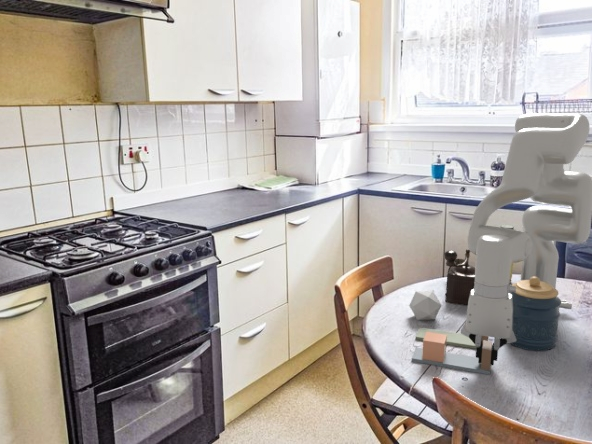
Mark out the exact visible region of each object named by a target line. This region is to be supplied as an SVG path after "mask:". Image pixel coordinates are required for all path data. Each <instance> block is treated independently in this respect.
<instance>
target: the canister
mask: <svg viewBox="0 0 592 444" xmlns="http://www.w3.org/2000/svg"><path fill="white" fill-rule="evenodd" d="M511 285H512V286H516V292H510V294H511V295H512V299H513V330H514V332H515V335H516V342H512V343H510V344H511V345H513V346H515V347H517V348H521V349H524V350H528V351H547V350H551V349H553V348H555V347H556V343H557V341H558V338H559V337H558V331H559V330H558V328H559V320H560V316H561V312H560V310H559V311H558V307H559V306H560V305H561V300H562V299H560V298H559V291H558V289H556V288H554V287H552V286H551V285H550V284H548V283H545V282H542V281H540V279H539V278H538V277H535V276H533V277H531V278H530V280H521V279H520V280H518V281H517V282H514V283H512V284H511Z"/></svg>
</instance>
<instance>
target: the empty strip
mask: <svg viewBox="0 0 592 444" xmlns="http://www.w3.org/2000/svg"><path fill="white" fill-rule="evenodd" d="M426 332H432V333H439V334H445V335H447V345H448V346H455V347H461V348H468V349H475V350H476V346H475V344H474V343H473V342H472V340H471V339H470V338H469V337H466V336H465V335H463V334H461V332H453V331H446V330H439V329H431V328H425V327H418V330H417V332H416V335H415V340H417V341H422V342H423V339H424V337H425V334H426ZM483 340H486V341H489V337H488V336H482V338H481V341H482V342H483ZM482 344H483V343H482Z"/></svg>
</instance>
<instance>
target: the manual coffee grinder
mask: <svg viewBox="0 0 592 444" xmlns="http://www.w3.org/2000/svg"><path fill="white" fill-rule="evenodd" d="M470 253H471V252H470V250H469V248H468V249H466V250H465V254H464V256H465V258H464V262H463V263H462V264H459V265H457V264H455V259H458V253H457V252H456V251H454V250H452V249H451V250H450V249H449V250H446V251H445V252H444V253H443V257H444V260H446V262H445V266H447V267H448V268H449V267H451V268H450V270H449V272H448V271H447V275H446V291H445V294H444V296H445V303H448V304H449V303H450V304H453V305H454V304H455V305H458V306H459V305H460V306H466V307H468V301H469V296H470V292H471V290H473V289H474V282H475V266H472V265H470V264H469V259H470V257H471V255H470Z"/></svg>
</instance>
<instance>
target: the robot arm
mask: <svg viewBox="0 0 592 444" xmlns="http://www.w3.org/2000/svg"><path fill="white" fill-rule="evenodd" d="M514 129H515V133H514V134H513V136H512V138H511V142H510V147H509V151H508V154H507V158H506V162H505V166H504V171H503V174H502V177H501V182H500V183H499V186H497V187H496V188H495V189H494V190H491V192H490V193H488V194H487V195H486V196H485V197H484V198H483V199H482V200H481V201H480V202H479V204H478V205H477V207H476V208H475V210H474V212H473V214H472V215H473V216H472V217H471V223H470V225H469V229H468V234H467V243H466V245H467V248H468V249H469V250H470V253H472V254H473V255H475V266H474V268H475V282H474V289H473V290H471V292H470V296H469V301H468V306H466V307H467V309H466V316H465V317H466V319H465V322H464V324H463V325H462V327H461V329H460V334H463V335H465V336H466V337H469V338H470V339H471V340H472V342H473V343H474V344H475V346H476V349H475V357H476V358H479V360H478V363H481V359H482V347H483V344H482V343H483V342H482V341H481V338H482V336H488V337H490V338H494V341H493V342H492V350H491V363H490V364H491V366H494V364H495V361H498V356H499V355H498V353H499V350H500V348H502V347H504V346H505V345H506V344H511V343H512V342H516V335H515V332H514V330H513V299H512V295H511V294H510V292H516V286H512V284H511V282H510V273H511V264H513V265H514V264H517V263H521V271H520V272H521V273H520V274H521V275H520V281H521V280H530V278H531V277H533V276H535V277H538V278H539V279H540V281H542V282H545V283H548V284H550V285H551V286H552V287H554V288H555V289H556V287H557V279H558V278H557V275H558V266H559V259H560V257H559V251H558V249H557V247H556V246H555V244H554V243H553V242H554V241H555V242H561V243H568V244H577V245H578V244H583V243H585V242H587V240H588V239H589V237H590V234H591V228H592V227H591V226H592V177H591V176H590V175H589V174H587V173H585V172H581V171H572V170H571V171H570V170H569V171H567V170H565V168H564V165H569V164H570V163H572V162H573V161H574V160H575V159H576V157H577V156H578V154H579V153H580V151H581V150H582V148H583V147H584V145H585V144H586V143H587V142H586V141H587V140H588V137H589V134H590V121H589V119H588V117H587V116H586V115H584V114H583V113H563V112H562V113H554V112H550V113H549V112H538V113H537V112H534V113H533V112H531V113H525V114H522V115H519V116H518V117H517V118H516V119H515V124H514ZM527 199H531V201H533V202H535V203H538V204H544V205H533V206H530V207H528V208H526V209H525V210H524V212H523V214H522V219H521V221H522V222H521V224H522V225H521V226H522V230H520V229H507V228H501V226H495V225H494V226H493V225H487V223H488V221H489V219H490V217H491V216H492V214H494V213H495V212H496V211H498V210H499V209H501V208H503V207H504V206H507V205H510V204H513V203H516V202H520V201H523V200H527ZM549 205H552V206H549ZM553 205H554V206H553ZM559 206H563V207H559ZM566 207H569V208H566ZM560 300H561V305H560V306H559V307H558V311H559V312H560V309H564V310H572V307H573V302H568V301H567V300H566V299H560Z"/></svg>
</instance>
